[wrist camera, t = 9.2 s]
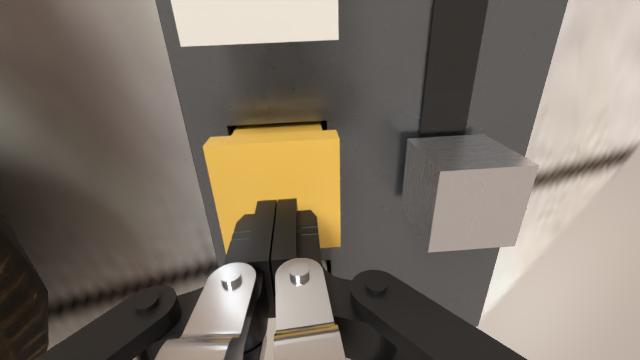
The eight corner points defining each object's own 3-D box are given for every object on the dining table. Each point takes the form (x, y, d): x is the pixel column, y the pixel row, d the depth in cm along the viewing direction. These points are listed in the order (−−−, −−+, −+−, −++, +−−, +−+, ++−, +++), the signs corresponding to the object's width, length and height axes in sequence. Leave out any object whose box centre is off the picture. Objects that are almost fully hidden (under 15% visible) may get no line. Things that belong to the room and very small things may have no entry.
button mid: (244, 197, 19) (226, 255, 15) (229, 112, 17) (202, 146, 12) (329, 191, 20) (340, 246, 15) (327, 106, 17) (339, 138, 12)
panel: (245, 303, 26) (237, 349, 22) (154, -150, 14) (101, -217, 10) (453, 286, 27) (479, 328, 23) (545, -156, 15) (633, -220, 11)
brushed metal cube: (401, 206, 17) (428, 252, 14) (407, 138, 16) (440, 171, 12) (470, 201, 18) (514, 246, 14) (484, 134, 16) (539, 165, 12)
